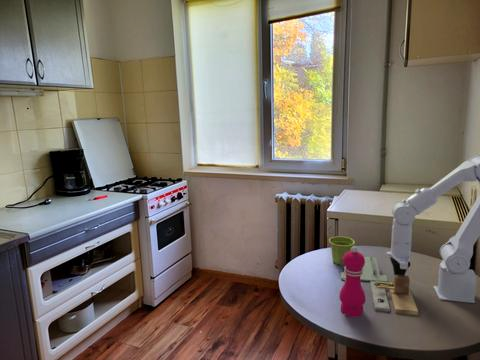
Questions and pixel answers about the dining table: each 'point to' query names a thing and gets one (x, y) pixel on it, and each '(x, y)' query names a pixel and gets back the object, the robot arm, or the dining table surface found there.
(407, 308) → the trammel beam
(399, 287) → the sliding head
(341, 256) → the plant pot
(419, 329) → the dining table surface
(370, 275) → the metal bracket
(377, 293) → the bolt strip
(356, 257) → the pepper mill
